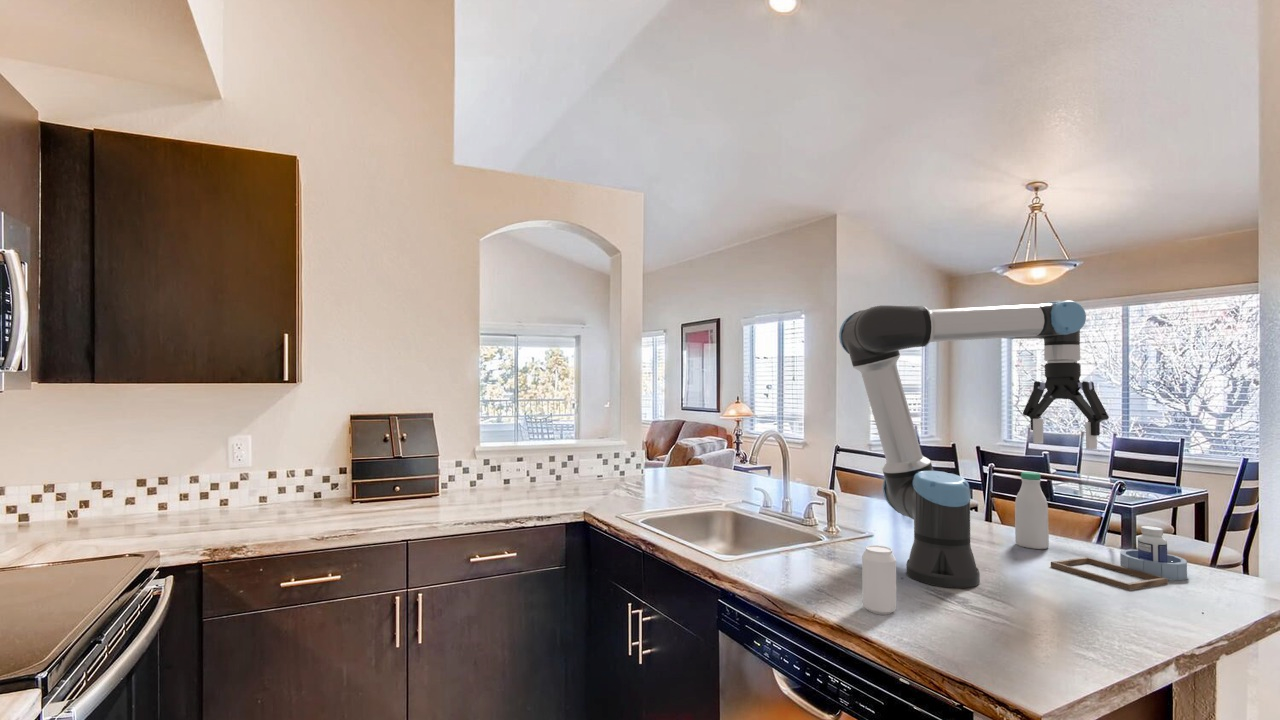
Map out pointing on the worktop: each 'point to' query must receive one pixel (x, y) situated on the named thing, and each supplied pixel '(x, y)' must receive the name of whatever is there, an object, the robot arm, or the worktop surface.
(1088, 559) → the empty rectangular wooden frame
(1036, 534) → the milk bottle
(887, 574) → the beverage can
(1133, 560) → the bowl
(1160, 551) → the pill bottle
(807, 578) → the worktop surface
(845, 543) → the worktop surface
